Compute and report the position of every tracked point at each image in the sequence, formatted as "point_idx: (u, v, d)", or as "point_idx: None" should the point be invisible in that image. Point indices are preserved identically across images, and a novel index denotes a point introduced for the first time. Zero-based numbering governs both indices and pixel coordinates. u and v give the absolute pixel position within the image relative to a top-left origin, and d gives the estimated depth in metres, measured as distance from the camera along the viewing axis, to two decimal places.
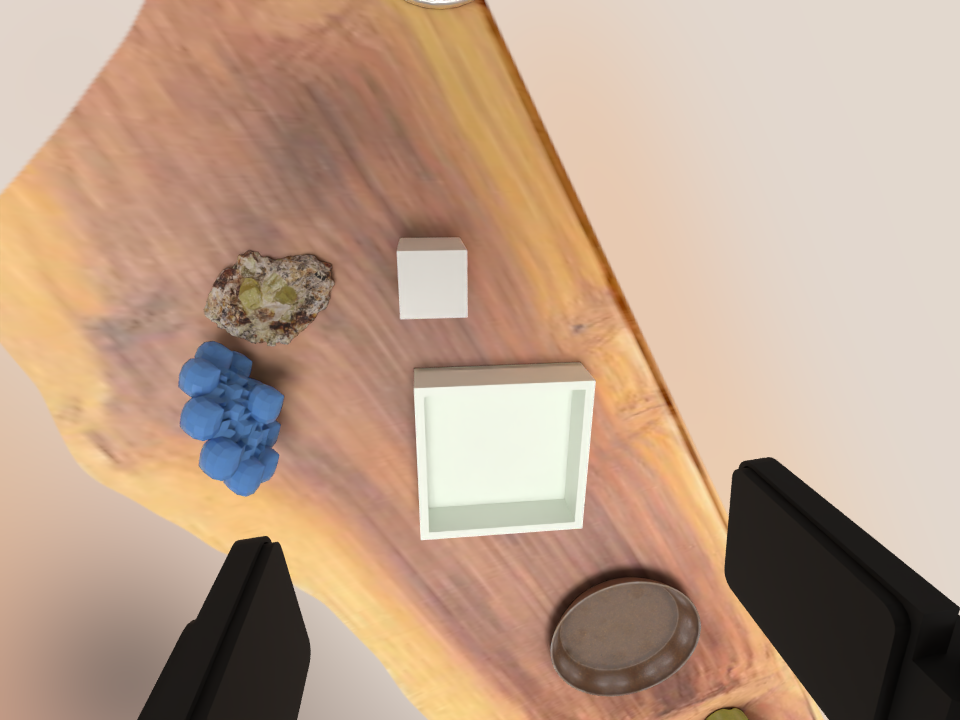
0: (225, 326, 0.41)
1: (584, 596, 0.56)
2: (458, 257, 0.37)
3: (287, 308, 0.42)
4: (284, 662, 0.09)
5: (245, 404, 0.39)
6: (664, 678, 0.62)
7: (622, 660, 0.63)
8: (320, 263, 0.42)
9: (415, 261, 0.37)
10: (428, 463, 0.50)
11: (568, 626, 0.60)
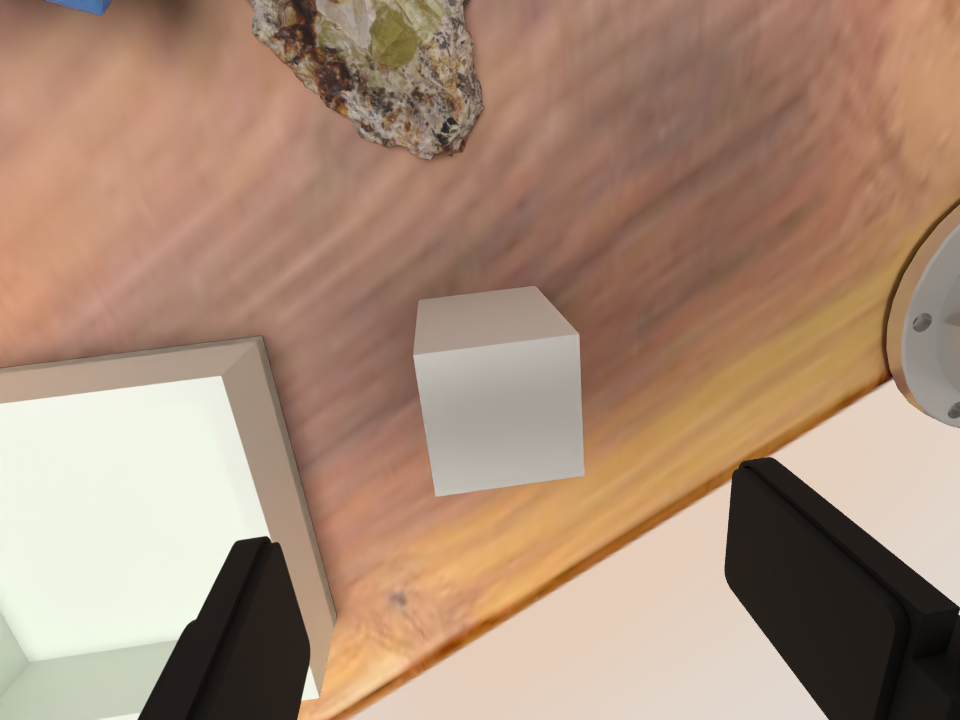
0: None
1: None
2: (567, 461, 0.17)
3: (355, 41, 0.17)
4: (284, 662, 0.09)
5: None
6: None
7: None
8: (468, 129, 0.19)
9: (556, 376, 0.16)
10: None
11: None
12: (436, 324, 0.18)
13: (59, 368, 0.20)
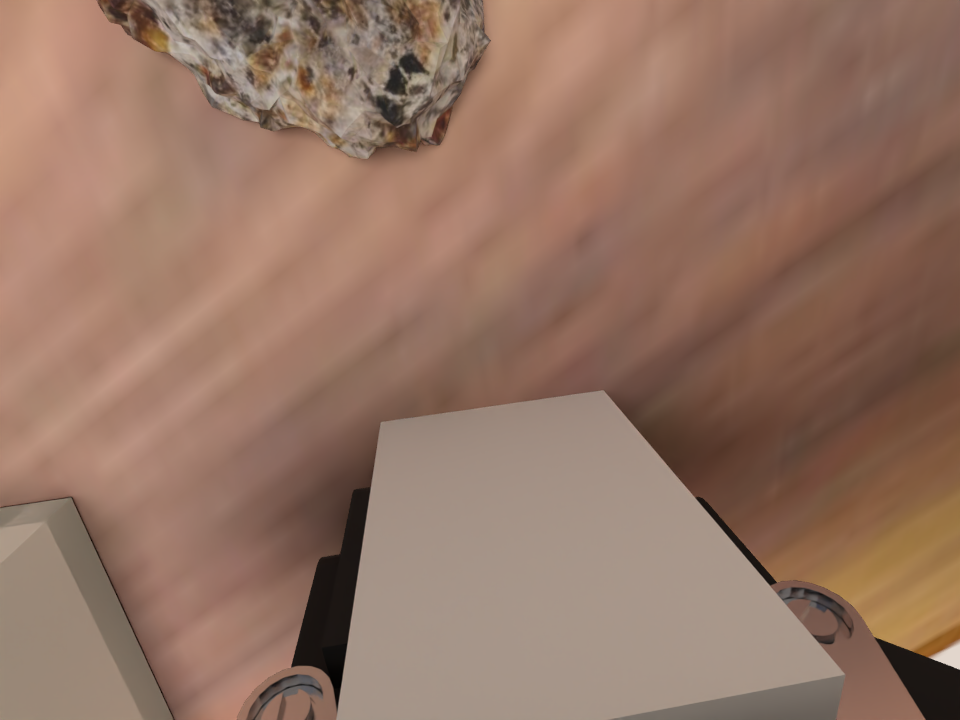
0: None
1: None
2: None
3: None
4: None
5: None
6: None
7: None
8: (454, 91, 0.08)
9: None
10: None
11: None
12: (411, 540, 0.07)
13: None
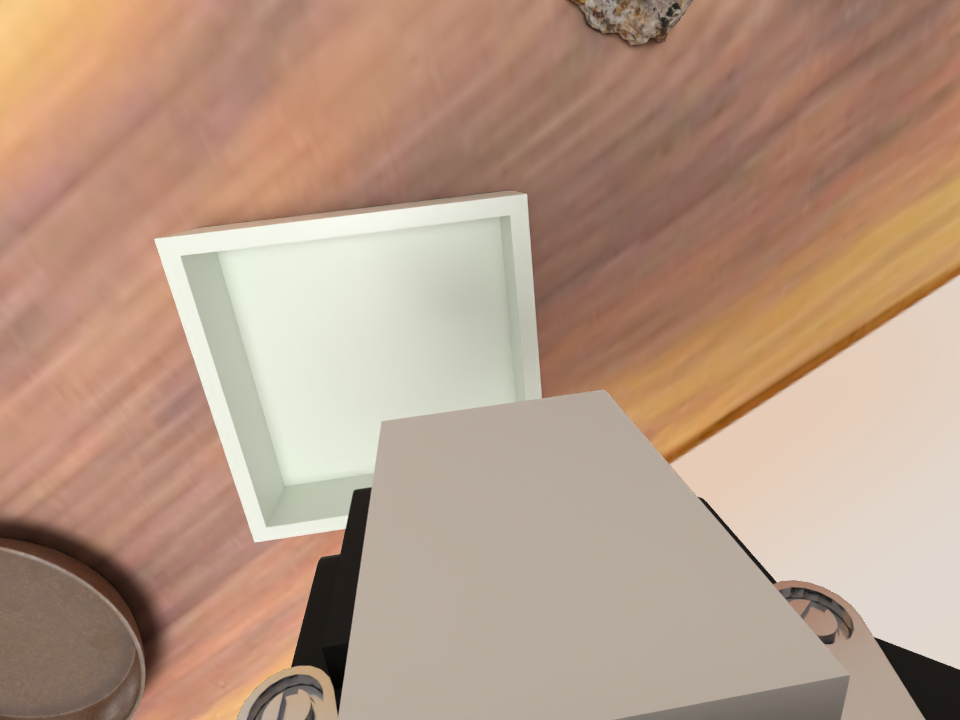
0: None
1: (74, 570, 0.29)
2: None
3: None
4: None
5: None
6: None
7: None
8: (678, 19, 0.23)
9: None
10: None
11: None
12: (412, 539, 0.07)
13: (360, 209, 0.25)
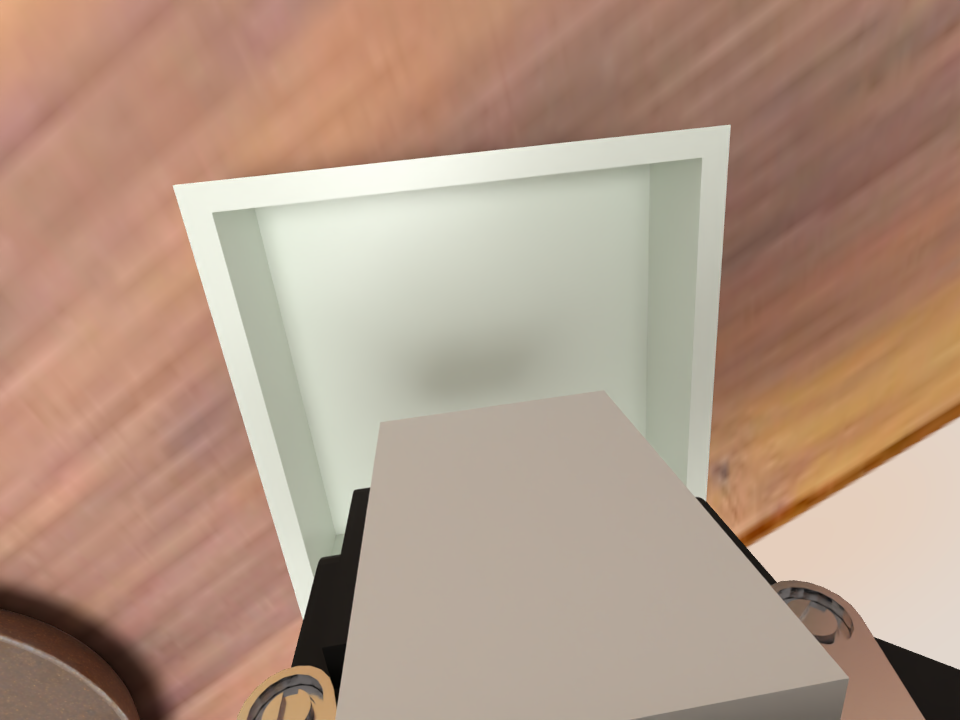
0: None
1: (53, 649, 0.22)
2: None
3: None
4: None
5: None
6: None
7: None
8: None
9: None
10: (404, 192, 0.18)
11: None
12: (410, 541, 0.07)
13: None
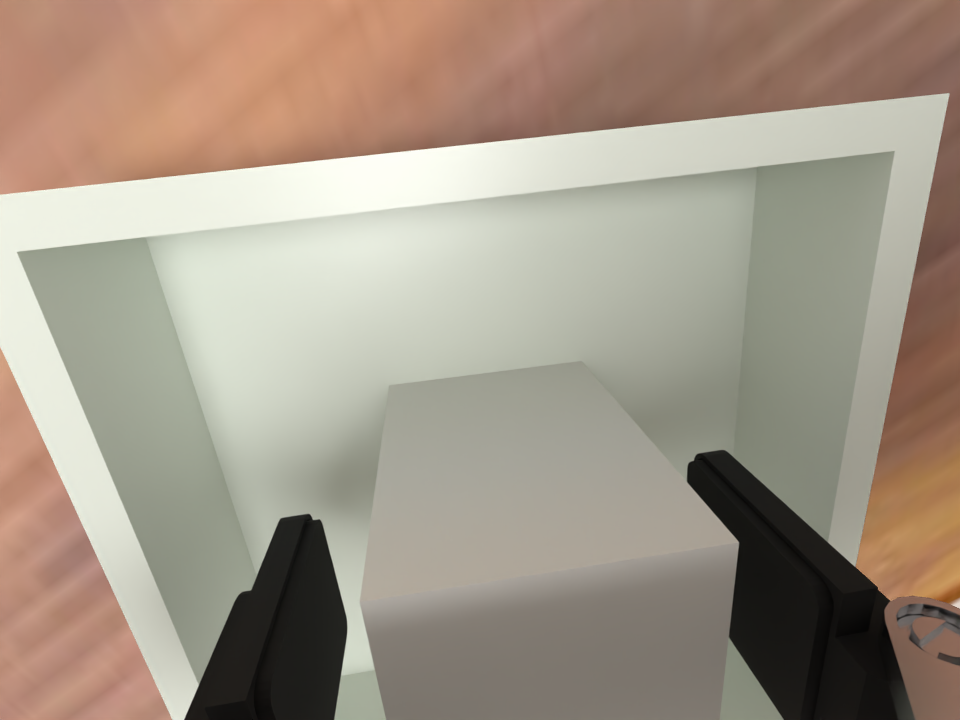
0: None
1: None
2: None
3: None
4: (328, 632, 0.10)
5: None
6: None
7: None
8: None
9: (680, 624, 0.07)
10: None
11: None
12: (416, 466, 0.09)
13: None
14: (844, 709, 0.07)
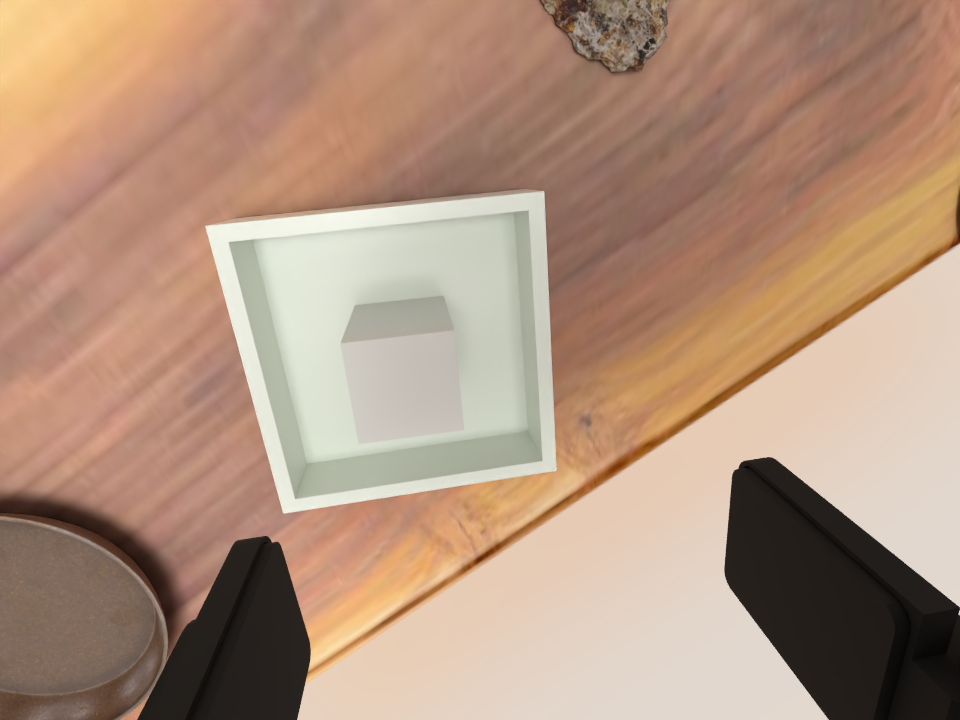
0: None
1: (103, 544, 0.30)
2: (451, 419, 0.24)
3: None
4: (284, 662, 0.09)
5: None
6: None
7: None
8: (654, 52, 0.26)
9: (440, 359, 0.23)
10: None
11: (5, 530, 0.31)
12: (362, 323, 0.25)
13: (388, 203, 0.27)
14: None
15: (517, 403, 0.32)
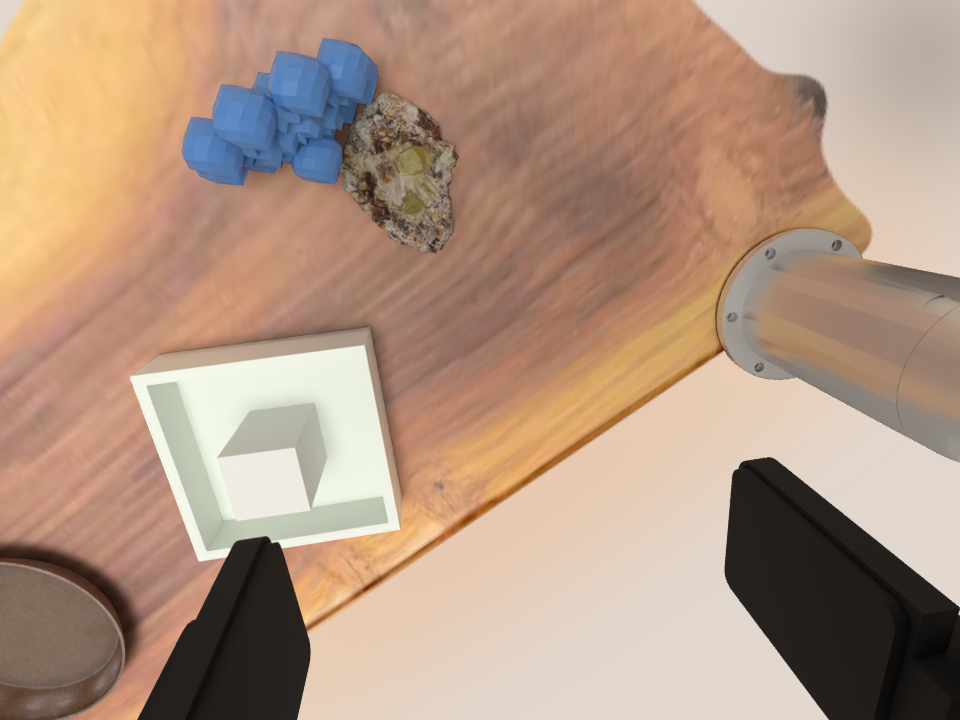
0: (369, 119, 0.33)
1: (75, 580, 0.42)
2: (300, 503, 0.35)
3: (394, 200, 0.35)
4: (284, 662, 0.09)
5: None
6: None
7: None
8: (445, 241, 0.37)
9: (287, 466, 0.34)
10: None
11: (6, 568, 0.43)
12: (242, 434, 0.36)
13: (266, 344, 0.38)
14: None
15: None
